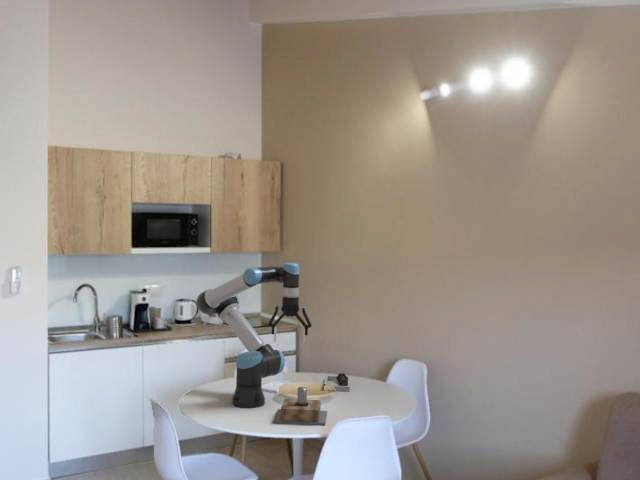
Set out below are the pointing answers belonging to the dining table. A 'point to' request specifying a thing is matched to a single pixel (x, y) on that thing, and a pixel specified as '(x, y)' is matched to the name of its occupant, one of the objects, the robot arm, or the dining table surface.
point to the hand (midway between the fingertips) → (289, 341)
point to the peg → (302, 396)
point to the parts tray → (338, 388)
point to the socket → (300, 413)
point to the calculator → (274, 386)
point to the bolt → (342, 379)
